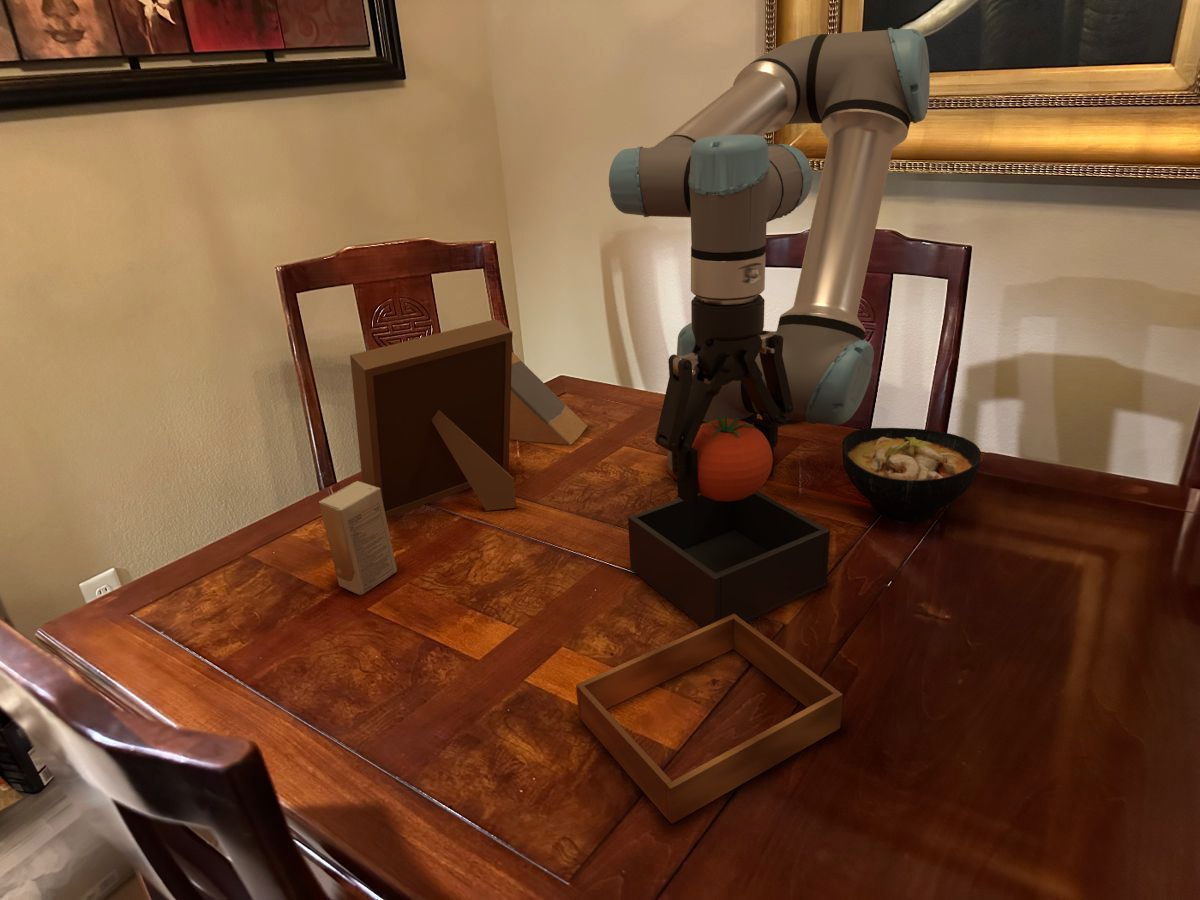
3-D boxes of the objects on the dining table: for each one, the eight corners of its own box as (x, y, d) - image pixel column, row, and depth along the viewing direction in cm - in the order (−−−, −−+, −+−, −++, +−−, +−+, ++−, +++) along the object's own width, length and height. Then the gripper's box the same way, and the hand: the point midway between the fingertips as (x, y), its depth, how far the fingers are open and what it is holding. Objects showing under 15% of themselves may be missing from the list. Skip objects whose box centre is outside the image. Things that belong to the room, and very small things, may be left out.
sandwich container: (571, 445, 139) (565, 359, 133) (488, 438, 144) (477, 354, 138) (589, 425, 146) (583, 342, 140) (509, 419, 151) (500, 338, 145)
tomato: (771, 520, 91) (774, 435, 87) (677, 516, 93) (675, 433, 89) (771, 477, 100) (773, 399, 96) (685, 475, 102) (684, 398, 98)
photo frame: (365, 511, 122) (333, 345, 112) (494, 465, 134) (476, 311, 123) (411, 550, 111) (379, 371, 101) (546, 497, 123) (531, 331, 112)
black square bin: (734, 529, 111) (735, 478, 108) (826, 586, 98) (830, 530, 95) (630, 569, 104) (627, 516, 101) (714, 637, 91) (714, 578, 88)
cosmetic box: (375, 563, 109) (359, 478, 104) (398, 572, 106) (383, 486, 101) (335, 587, 104) (316, 500, 99) (358, 597, 102) (340, 508, 97)
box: (733, 644, 90) (734, 613, 88) (840, 728, 78) (843, 694, 76) (578, 717, 81) (575, 684, 79) (671, 824, 69) (670, 788, 67)
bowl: (851, 472, 125) (856, 409, 120) (977, 490, 117) (986, 424, 113) (825, 526, 111) (830, 457, 107) (966, 550, 104) (976, 477, 99)
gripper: (658, 324, 79) (663, 530, 88) (834, 282, 89) (823, 471, 98) (615, 308, 85) (624, 503, 94) (785, 271, 95) (778, 450, 104)
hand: (726, 486), depth 96 cm, fingers closed on tomato, 10 cm apart
